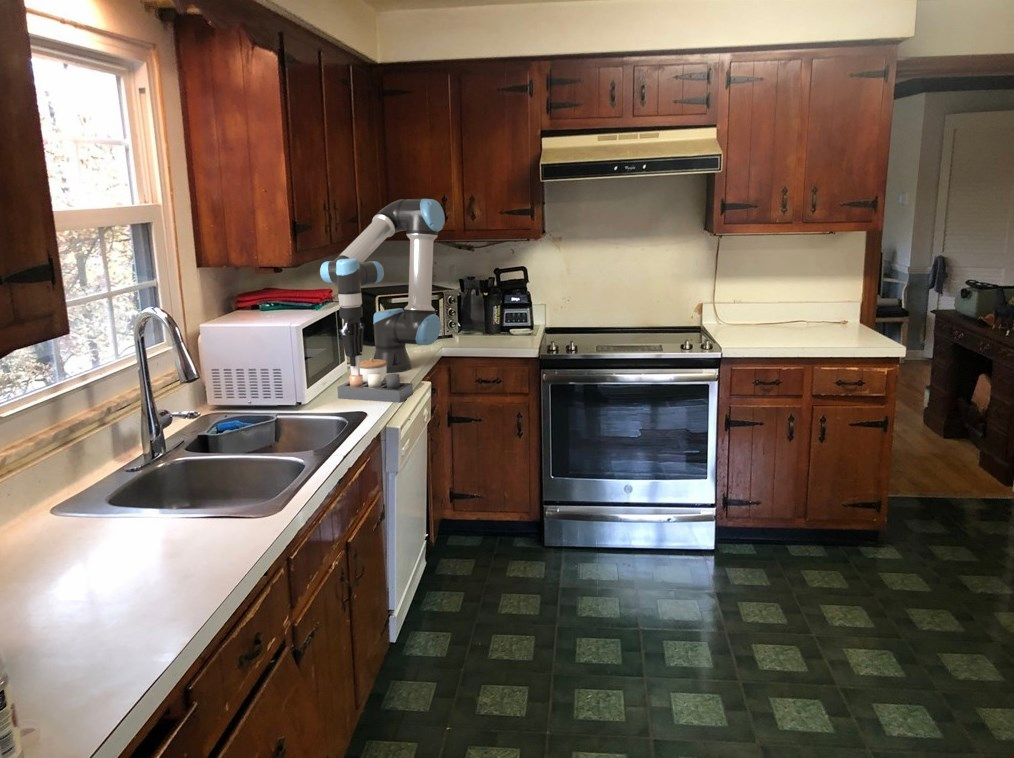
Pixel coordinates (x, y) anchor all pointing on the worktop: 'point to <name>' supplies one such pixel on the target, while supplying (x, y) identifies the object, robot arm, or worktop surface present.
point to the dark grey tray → (375, 392)
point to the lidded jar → (373, 368)
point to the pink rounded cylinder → (356, 380)
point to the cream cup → (374, 380)
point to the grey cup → (393, 381)
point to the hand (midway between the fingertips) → (355, 374)
